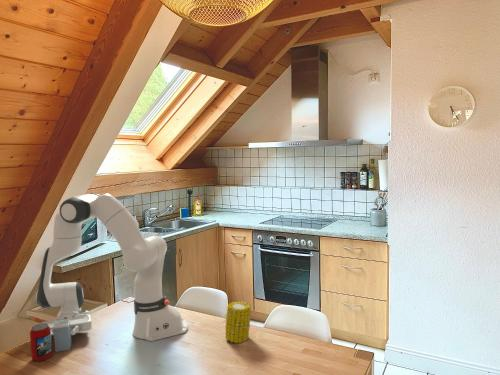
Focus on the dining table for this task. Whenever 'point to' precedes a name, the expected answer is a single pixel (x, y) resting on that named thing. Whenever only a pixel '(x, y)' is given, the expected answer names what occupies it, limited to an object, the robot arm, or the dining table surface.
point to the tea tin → (62, 335)
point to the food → (238, 321)
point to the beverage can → (41, 342)
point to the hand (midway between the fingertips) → (62, 334)
